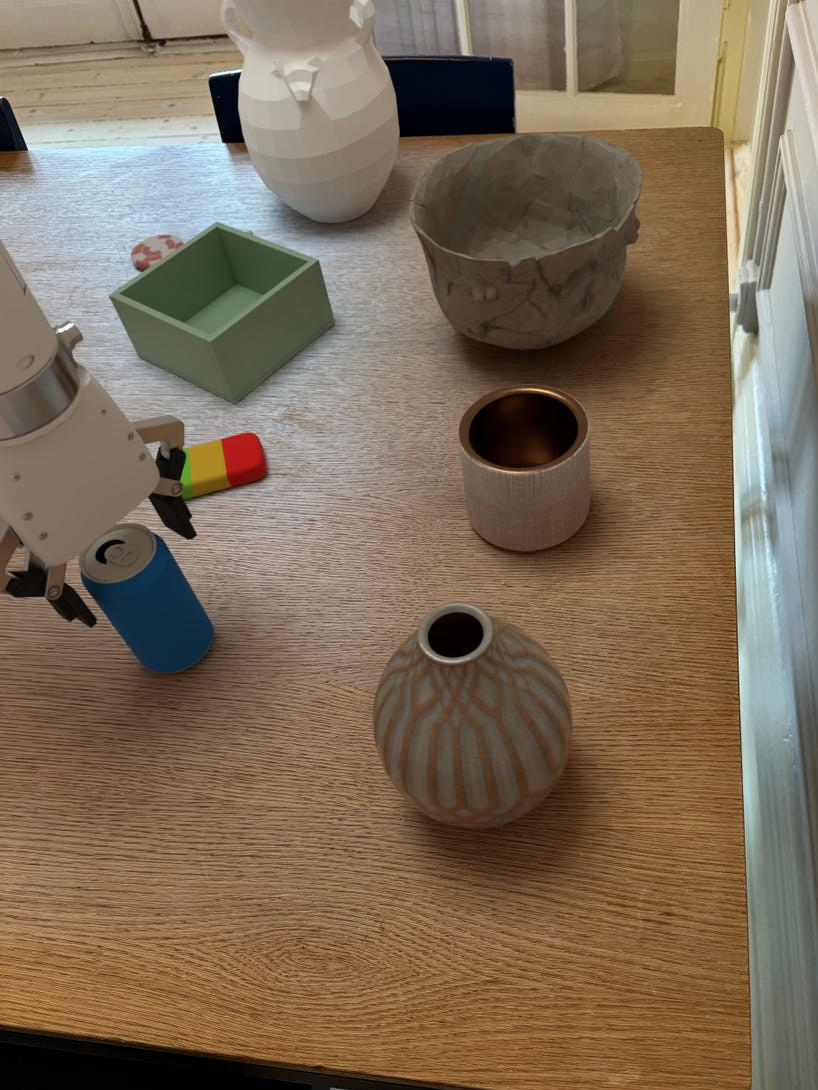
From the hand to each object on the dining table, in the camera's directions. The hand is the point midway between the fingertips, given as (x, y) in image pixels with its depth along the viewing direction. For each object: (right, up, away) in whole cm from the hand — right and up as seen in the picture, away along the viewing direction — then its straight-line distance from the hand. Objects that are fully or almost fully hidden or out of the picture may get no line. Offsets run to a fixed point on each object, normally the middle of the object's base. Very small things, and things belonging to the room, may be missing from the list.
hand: (133, 572), depth 65 cm
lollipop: (-10, +43, +43) cm, 62 cm away
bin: (-1, +28, +32) cm, 43 cm away
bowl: (+31, +28, +29) cm, 51 cm away
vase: (+26, -15, -1) cm, 30 cm away
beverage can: (+1, -6, +8) cm, 10 cm away
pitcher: (+8, +51, +47) cm, 69 cm away
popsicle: (-2, +10, +20) cm, 22 cm away
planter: (+30, +7, +13) cm, 34 cm away
